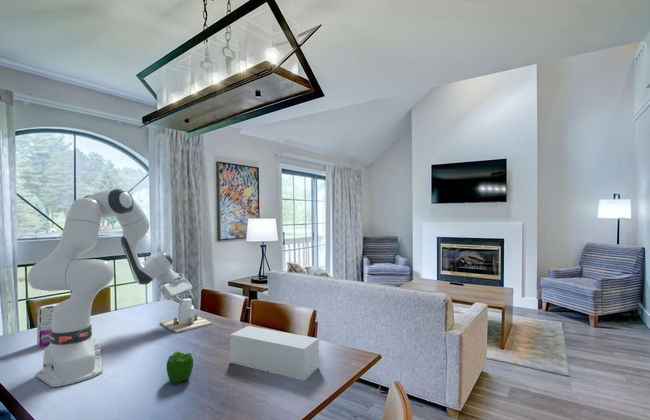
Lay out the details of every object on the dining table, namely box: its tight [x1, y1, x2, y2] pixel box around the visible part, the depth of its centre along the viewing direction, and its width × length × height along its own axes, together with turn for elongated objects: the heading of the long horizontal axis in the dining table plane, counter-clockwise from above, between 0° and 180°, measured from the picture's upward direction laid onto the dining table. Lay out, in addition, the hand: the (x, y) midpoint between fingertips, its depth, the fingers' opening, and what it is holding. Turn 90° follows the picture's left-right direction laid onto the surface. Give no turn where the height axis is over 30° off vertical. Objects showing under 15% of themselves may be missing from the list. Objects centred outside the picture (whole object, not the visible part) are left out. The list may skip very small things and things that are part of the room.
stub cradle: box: [159, 313, 213, 334], centre depth 166 cm, size 20×18×4 cm
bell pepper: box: [166, 351, 194, 385], centre depth 108 cm, size 8×8×10 cm
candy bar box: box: [36, 302, 60, 348], centre depth 142 cm, size 11×5×16 cm, turn 143°
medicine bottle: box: [178, 296, 195, 324], centre depth 166 cm, size 7×7×12 cm
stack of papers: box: [229, 325, 320, 381], centre depth 120 cm, size 32×11×11 cm, turn 65°
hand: (187, 300), depth 166 cm, fingers open, 8 cm apart
